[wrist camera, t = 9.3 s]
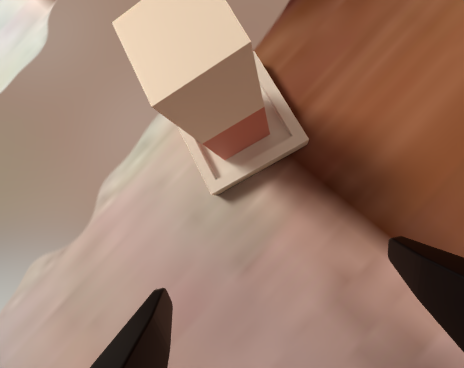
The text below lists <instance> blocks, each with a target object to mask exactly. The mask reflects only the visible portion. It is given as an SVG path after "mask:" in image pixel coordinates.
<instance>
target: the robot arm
mask: <svg viewBox="0 0 464 368" xmlns="http://www.w3.org/2000/svg"><path fill="white" fill-rule="evenodd" d="M388 257H389V260H390V262H391V263H392V264H393V266H394V267H395V269H396V270H397V271H398V273H399V274H400V275H401V277H402V278H403V280H404V281H405V282H406V284H407V285H408V287H409V288H410V289H411V291H412V292H413V293H414V295H415V296H416V297H417V299H418V300H419V301H420V302H421V303H422V305H423V306H424V307H425V308H426V309H427V310H428V311H429V313H430V314H431V315H432V316H433V317H434V318H435V320H436V321H437V322H438V323H439V324H440V325H441V326H442V328H443V329H444V330H445V331H446V332H447V333H448V335H449V336H450V337H451V338H452V339H453V340H454V341H455V343H456V344H457V345H458V346H459V347H460V348H461V350H462V351H463V352H464V258H463V257H460V256H458V255H455V254H452V253H449V252H446V251H443V250H440V249H437V248H434V247H431V246H428V245H426V244H423V243H420V242H417V241H414V240H411V239H408V238H405V237H402V236H398V237H393V238H390V239H389V243H388ZM172 310H173V306H172V301H171V299H170V297H169V295H168V292H167V290H166V289H165V288H161V289H156V290H154V291H153V292H152V293H151V295H150V296H149V297H148V298H147V299H146V301H145V302H144V303H143V304H142V305H141V307H140V308H139V309H138V310H137V312H136V313H135V314H134V315H133V316H132V318H131V319H130V320H129V321H128V322H127V324H126V325H125V326H124V327H123V328H122V330H121V331H120V332H119V333H118V334H117V336H116V337H115V338H114V339H113V340H112V342H111V343H110V344H109V345H108V346H107V348H106V349H105V350H104V351H103V352H102V354H101V355H100V356H99V357H98V358H97V360H96V361H95V362H94V363H93V365H92V366H91V367H90V368H167V366H168V360H169V353H170V343H171V326H172Z"/></svg>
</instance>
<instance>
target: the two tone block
mask: <svg viewBox="0 0 464 368" xmlns="http://www.w3.org/2000/svg"><path fill="white" fill-rule="evenodd" d="M112 24H113V26H114V28H115V31H116V33H117V35H118V37H119V39H120V41H121V43H122V45H123V47H124V50H125V52H126V54H127V56H128V58H129V60H130V62H131V64H132V66H133V69H134V71H135V73H136V75H137V77H138V79H139V81H140V83H141V85H142V88H143V90H144V92H145V94H146V96H147V98H148V100H149V103H150V105H151V107H153V108H154V109H155V110H157V111H158V112H159V113H161V114H162V115H163V116H165V117H166V118H167V119H169V120H170V121H172V122H173V123H174V124H176V125H177V126H178V127H180V128H181V129H182V130H184V131H185V132H186V133H188V134H189V135H191V136H192V137H193V138H195V139H196V140H197V141H199V142H200V143H201V144H203V145H204V146H206V147H207V148H208V149H210V150H211V151H212V152H214V153H215V154H216V155H218V156H219V157H221V158H222V159H223V160H226V159H228V158H230V157H231V156H233V155H235V154H237V153H238V152H240V151H242V150H244V149H245V148H247V147H249V146H251V145H252V144H254V143H256V142H258V141H259V140H261V139H263V138H264V137H266V136H268V135H270V132H269V127H268V122H267V117H266V112H265V107H264V102H263V98H262V93H261V88H260V83H259V78H258V73H257V68H256V64H255V59H254V54H253V49H252V44H251V41H250V39H249V37H248V36H247V34H246V33H245V31H244V29H243V28H242V26H241V24H240V23H239V21H238V20H237V18H236V16H235V15H234V13H233V11H232V10H231V8H230V7H229V5H228V3H227V2H226V0H141V1H140V2H138V3H137V4H136V5H134V6H133V7H132V8H131V9H129V10H128V11H127V12H125V13H124V14H123V15H121V16H120V17H119V18H117V19H116V20H115V21H113V22H112Z"/></svg>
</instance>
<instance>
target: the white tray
mask: <svg viewBox="0 0 464 368" xmlns="http://www.w3.org/2000/svg"><path fill="white" fill-rule="evenodd" d="M253 54H254V59H255V64H256V68H257V73H258V78H259V83H260V88H261V93H262V98H263V102H264V107H265V112H266V117H267V122H268V127H269V132H270V135H268V136H266V137H264V138H263V139H261V140H259V141H258V142H256V143H254V144H252V145H251V146H249V147H247V148H245V149H244V150H242V151H240V152H238V153H237V154H235V155H233V156H231V157H230V158H228V159H226V160H223V159H222V158H221V157H219V156H218V155H216V154H215V153H214V152H212V151H211V150H210V149H208V148H207V147H206V146H204V145H203V144H201V143H200V142H199V141H197V140H196V139H195V138H193V137H192V136H191V135H189V134H188V133H186V132H185V131H184V130H182V129H181V128H180V127H178V126H177V127H178V129H179V131H180V133H181V135H182V137H183V139H184V141H185V143H186V145H187V147H188V149H189V151H190V153H191V155H192V157H193V159H194V161H195V163H196V165H197V167H198V169H199V171H200V173H201V175H202V178H203V180H204V182H205V184H206V186H207V188H208V190H209V192H210V194H211V195H218V194H220V193H222V192H223V191H225V190H227V189H229V188H231V187H232V186H234V185H236V184H238V183H240V182H241V181H243V180H245V179H247V178H248V177H250V176H252V175H254V174H256V173H257V172H259V171H261V170H263V169H265V168H266V167H268V166H270V165H272V164H273V163H275V162H277V161H279V160H281V159H282V158H284V157H286V156H288V155H290V154H291V153H293V152H295V151H297V150H298V149H300V148H302V147H304V146H306V145H307V144H308V141H309V138H308V137H307V135H306V134H305V132H304V130H303V129H302V127H301V126H300V124H299V122H298V121H297V119H296V117H295V116H294V114H293V113H292V111H291V109H290V108H289V106H288V105H287V103H286V101H285V100H284V98H283V97H282V95H281V93H280V92H279V90H278V89H277V87H276V85H275V84H274V82H273V80H272V79H271V77H270V76H269V74H268V72H267V71H266V69H265V68H264V66H263V64H262V63H261V61H260V60H259V58H258V56H257V55H256V53H255V52H253Z"/></svg>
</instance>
